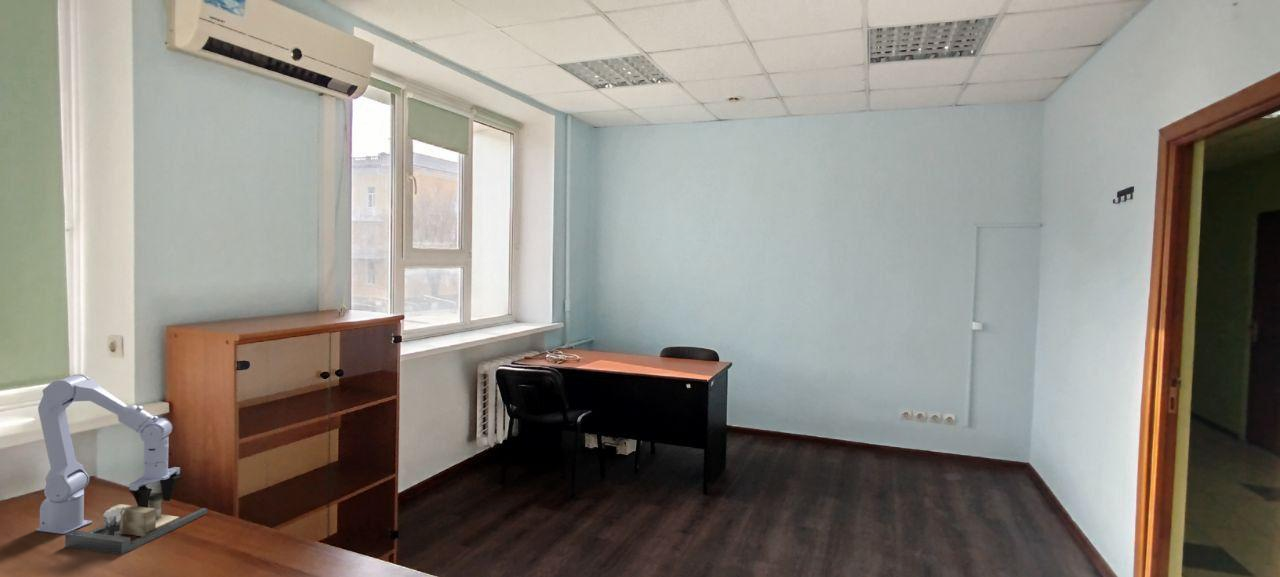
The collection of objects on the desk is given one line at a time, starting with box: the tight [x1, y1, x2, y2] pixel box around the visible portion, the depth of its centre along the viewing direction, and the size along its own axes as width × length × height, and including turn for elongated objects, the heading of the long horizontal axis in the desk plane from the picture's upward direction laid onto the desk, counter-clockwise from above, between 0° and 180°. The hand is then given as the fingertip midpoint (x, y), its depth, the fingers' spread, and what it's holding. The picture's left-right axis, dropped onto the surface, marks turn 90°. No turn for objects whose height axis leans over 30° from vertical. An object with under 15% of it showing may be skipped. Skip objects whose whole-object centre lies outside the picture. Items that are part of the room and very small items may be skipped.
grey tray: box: [64, 502, 208, 556], centre depth 179 cm, size 18×28×4 cm, turn 172°
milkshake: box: [102, 507, 125, 537], centre depth 171 cm, size 4×5×10 cm
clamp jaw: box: [108, 492, 181, 537], centre depth 180 cm, size 12×11×8 cm
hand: (155, 505), depth 183 cm, fingers open, 7 cm apart
